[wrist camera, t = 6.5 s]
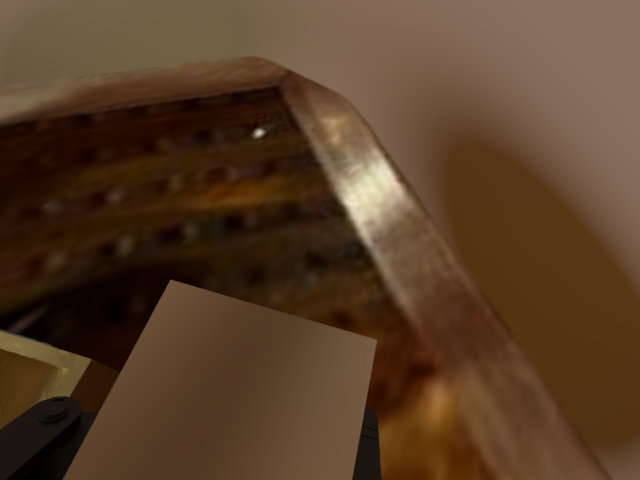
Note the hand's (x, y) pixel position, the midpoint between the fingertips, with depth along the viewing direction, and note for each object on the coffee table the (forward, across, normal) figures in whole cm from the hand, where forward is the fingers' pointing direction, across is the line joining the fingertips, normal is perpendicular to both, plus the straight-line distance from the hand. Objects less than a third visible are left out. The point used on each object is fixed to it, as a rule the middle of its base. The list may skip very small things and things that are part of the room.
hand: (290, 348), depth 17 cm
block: (+2, 0, -8) cm, 8 cm away
